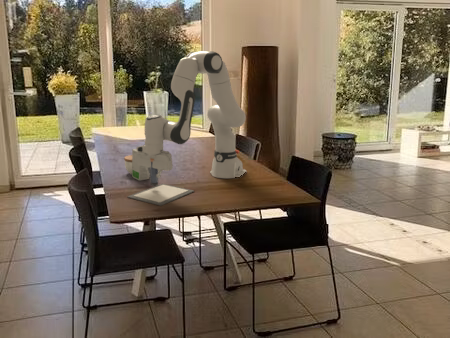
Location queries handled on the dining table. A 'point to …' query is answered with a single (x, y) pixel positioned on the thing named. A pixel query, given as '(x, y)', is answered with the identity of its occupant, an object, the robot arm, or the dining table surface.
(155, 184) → the marker
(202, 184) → the dining table surface
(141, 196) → the mat
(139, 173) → the skincare box
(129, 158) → the lidded bowl
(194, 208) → the dining table surface
